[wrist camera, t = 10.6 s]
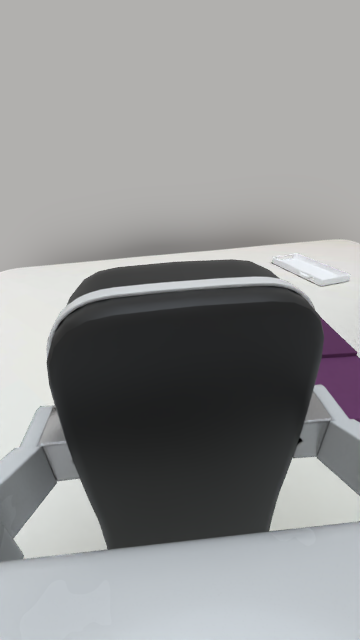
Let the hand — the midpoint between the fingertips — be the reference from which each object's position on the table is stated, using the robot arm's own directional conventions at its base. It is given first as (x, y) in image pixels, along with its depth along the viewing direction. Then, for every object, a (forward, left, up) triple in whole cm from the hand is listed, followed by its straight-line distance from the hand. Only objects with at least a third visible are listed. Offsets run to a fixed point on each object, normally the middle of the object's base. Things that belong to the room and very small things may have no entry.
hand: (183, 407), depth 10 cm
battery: (0, 0, -6) cm, 6 cm away
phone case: (-31, -47, -13) cm, 57 cm away
